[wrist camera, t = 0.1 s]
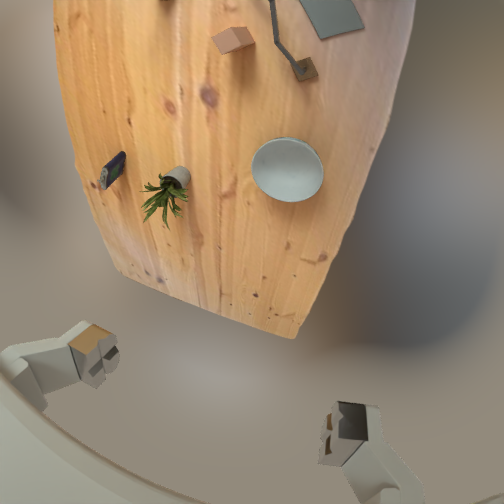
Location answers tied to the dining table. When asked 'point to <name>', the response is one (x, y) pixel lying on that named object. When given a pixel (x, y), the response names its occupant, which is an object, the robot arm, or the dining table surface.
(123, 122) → the dining table surface
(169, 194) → the house plant
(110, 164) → the flask
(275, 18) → the zigzag wire
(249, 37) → the brick block
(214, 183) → the dining table surface
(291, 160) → the chinaware
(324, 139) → the dining table surface
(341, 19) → the slate tile
